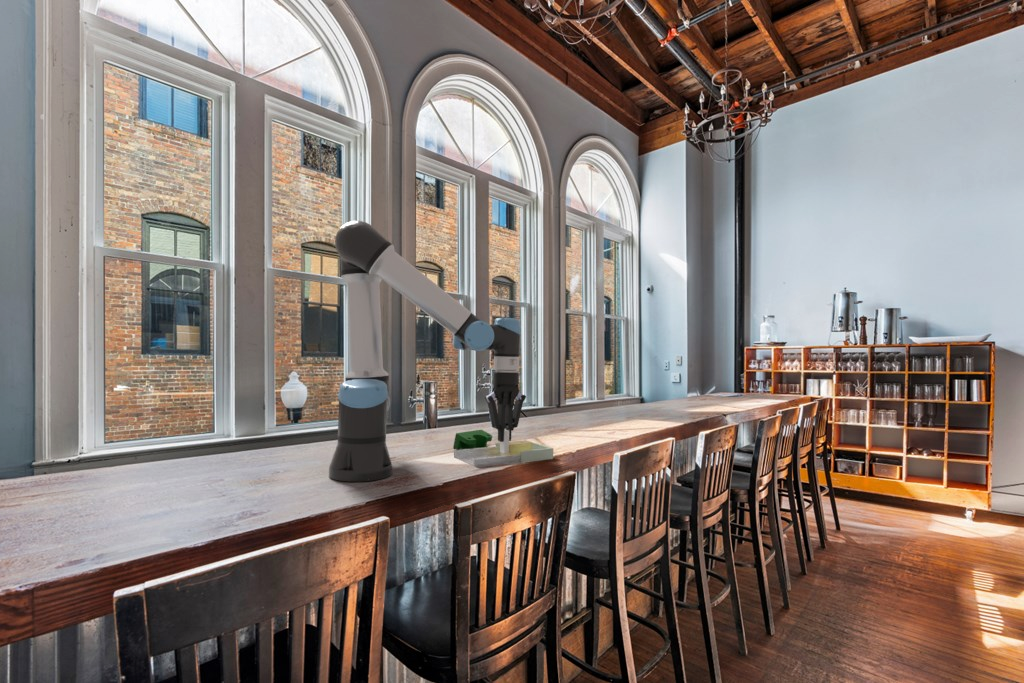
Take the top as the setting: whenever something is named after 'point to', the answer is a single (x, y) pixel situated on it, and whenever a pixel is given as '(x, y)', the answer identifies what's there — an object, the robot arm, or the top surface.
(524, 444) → the pale yellow cube
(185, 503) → the top surface
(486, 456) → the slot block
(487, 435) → the clamp
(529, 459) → the tray
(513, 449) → the chip
